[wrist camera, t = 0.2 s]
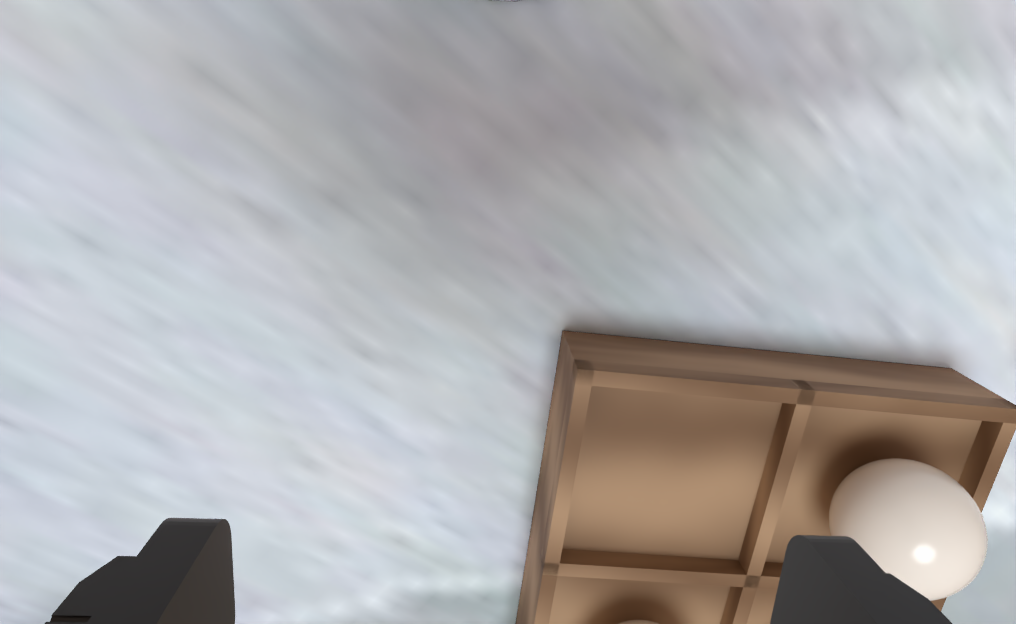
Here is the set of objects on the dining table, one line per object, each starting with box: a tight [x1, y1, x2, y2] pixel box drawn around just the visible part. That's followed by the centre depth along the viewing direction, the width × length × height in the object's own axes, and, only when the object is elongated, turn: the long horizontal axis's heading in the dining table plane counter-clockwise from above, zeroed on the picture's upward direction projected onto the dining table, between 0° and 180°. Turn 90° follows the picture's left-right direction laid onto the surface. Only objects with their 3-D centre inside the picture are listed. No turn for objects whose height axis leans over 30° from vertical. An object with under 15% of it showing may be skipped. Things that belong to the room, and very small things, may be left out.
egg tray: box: [516, 331, 1016, 624], centre depth 28 cm, size 17×17×4 cm
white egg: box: [829, 458, 988, 601], centre depth 24 cm, size 5×5×5 cm
